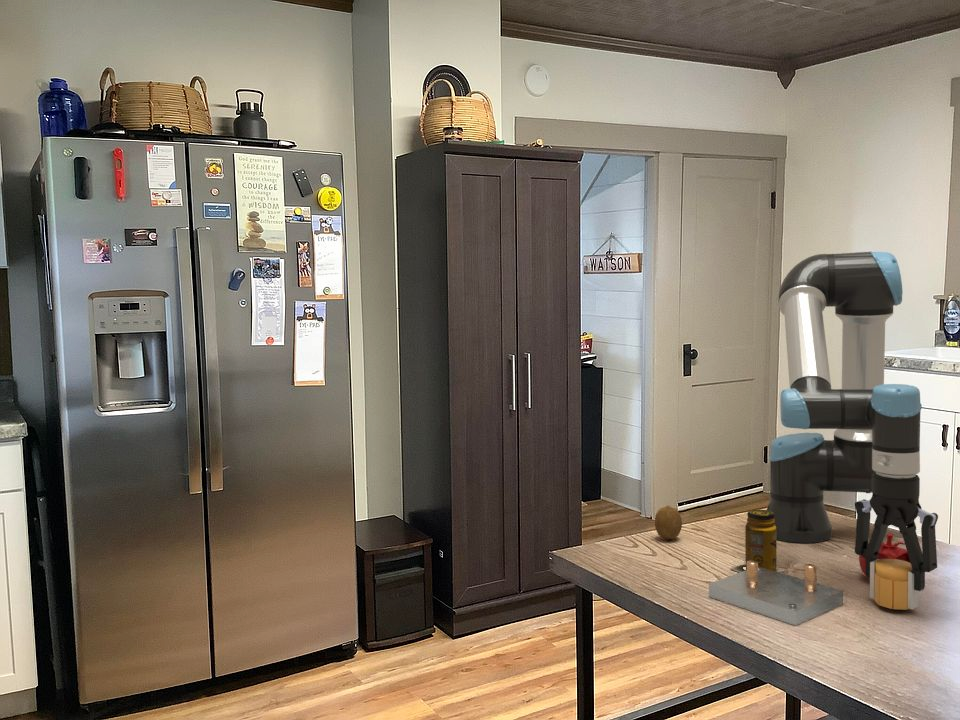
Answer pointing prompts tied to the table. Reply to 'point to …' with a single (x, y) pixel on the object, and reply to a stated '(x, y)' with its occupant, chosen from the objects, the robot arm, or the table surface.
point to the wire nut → (892, 583)
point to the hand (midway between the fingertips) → (894, 601)
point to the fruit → (668, 522)
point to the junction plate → (777, 593)
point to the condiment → (760, 541)
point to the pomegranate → (887, 553)
